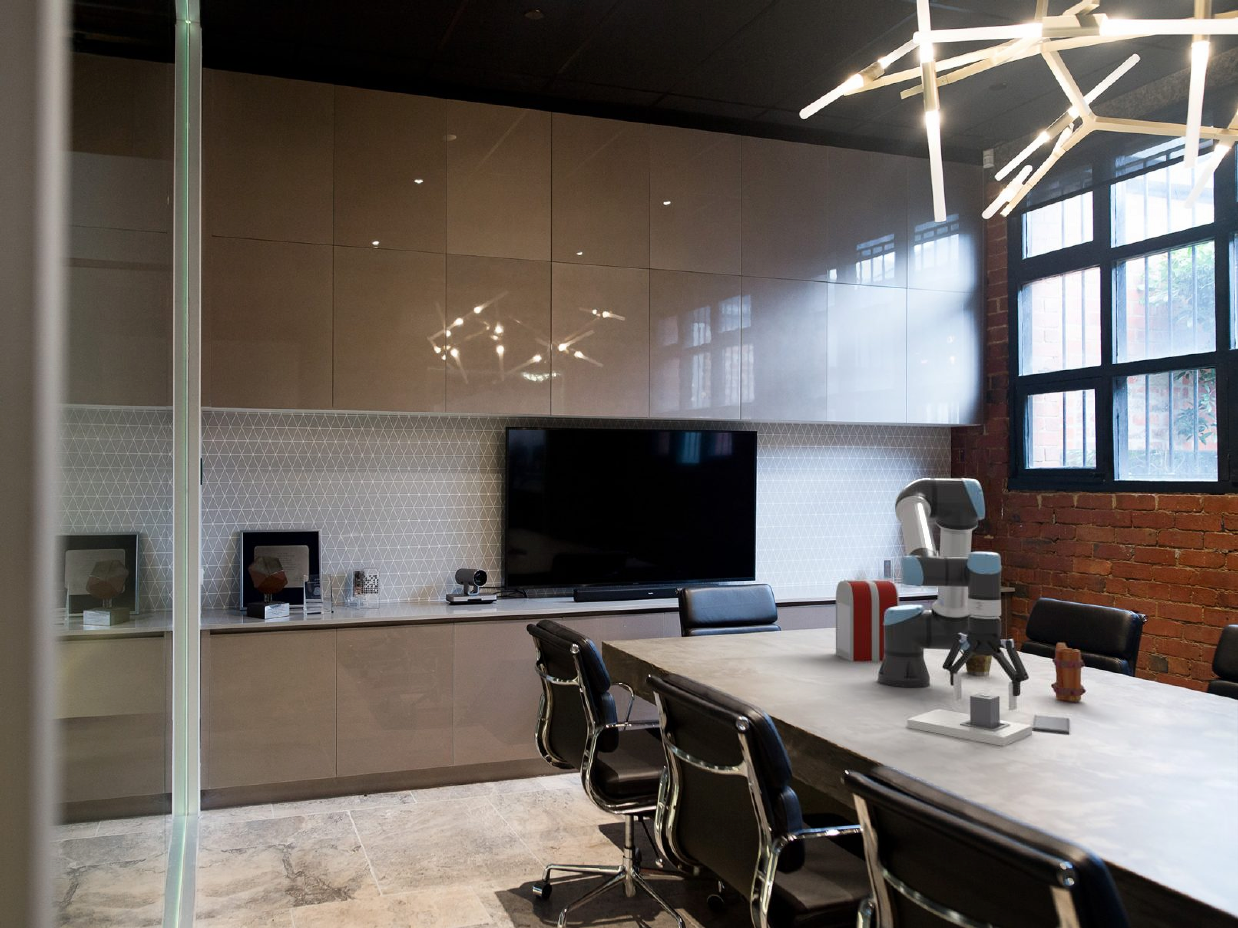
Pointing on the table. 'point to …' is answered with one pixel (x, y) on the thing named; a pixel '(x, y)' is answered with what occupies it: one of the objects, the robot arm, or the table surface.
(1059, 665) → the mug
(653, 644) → the table surface
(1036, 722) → the phone
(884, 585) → the red striped box
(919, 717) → the outlet plate
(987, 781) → the table surface
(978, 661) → the ceramic cup
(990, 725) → the grey rectangular block
